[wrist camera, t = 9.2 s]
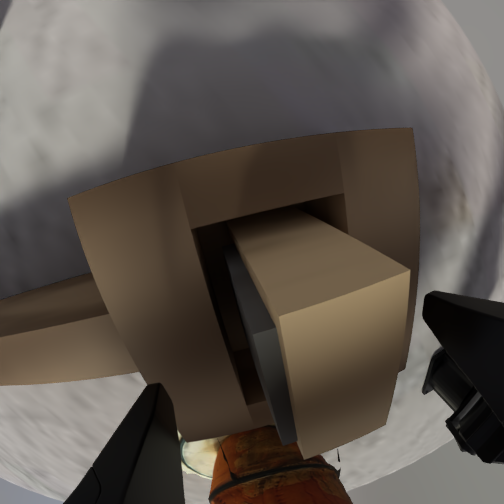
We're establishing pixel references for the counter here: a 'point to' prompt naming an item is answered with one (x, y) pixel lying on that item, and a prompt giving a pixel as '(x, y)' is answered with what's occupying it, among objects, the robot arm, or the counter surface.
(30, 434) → the counter surface
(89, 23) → the counter surface
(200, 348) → the wooden block stand
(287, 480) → the decorative vase
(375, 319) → the tan cardboard block
